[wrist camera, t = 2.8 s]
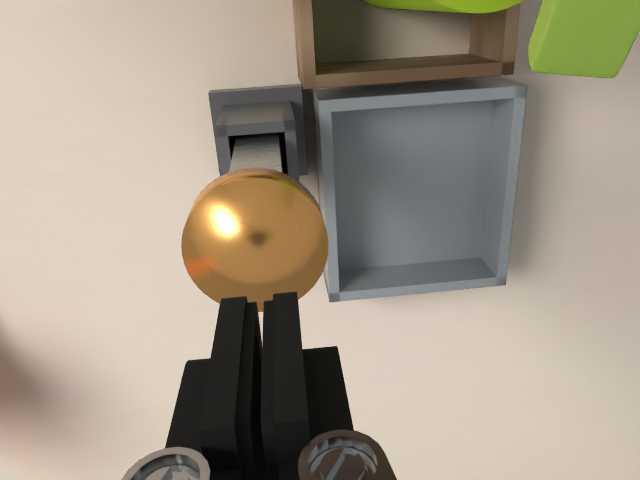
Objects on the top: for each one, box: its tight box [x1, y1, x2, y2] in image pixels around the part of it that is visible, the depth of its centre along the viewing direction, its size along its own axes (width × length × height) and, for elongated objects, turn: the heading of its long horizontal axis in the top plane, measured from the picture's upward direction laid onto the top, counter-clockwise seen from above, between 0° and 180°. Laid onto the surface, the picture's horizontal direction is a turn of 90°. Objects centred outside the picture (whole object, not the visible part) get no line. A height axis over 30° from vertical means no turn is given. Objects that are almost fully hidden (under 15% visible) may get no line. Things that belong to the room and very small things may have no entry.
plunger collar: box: [209, 84, 308, 182], centre depth 27 cm, size 5×5×6 cm
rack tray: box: [313, 76, 527, 302], centre depth 30 cm, size 12×11×4 cm
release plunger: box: [182, 132, 329, 312], centre depth 22 cm, size 4×4×13 cm
